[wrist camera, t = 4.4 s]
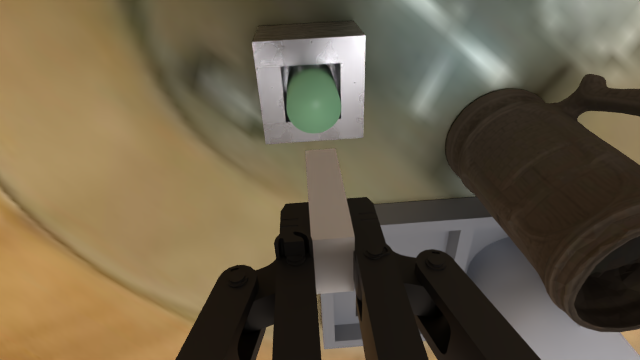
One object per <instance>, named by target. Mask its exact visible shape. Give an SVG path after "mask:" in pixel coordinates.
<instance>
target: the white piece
mask: <svg viewBox="0 0 640 360" xmlns="http://www.w3.org/2000/svg"><path fill="white" fill-rule="evenodd" d="M467 275H468V276H469V278H470V279H471V280H472V281H473V282H474V283H475V284H476V286H477V287H478V288H479V289H480V290H481V291H482V292H483V294H484V295H485V296H486V297H487V298H488V299H489V300H490V302H491V303H492V304H493V305H494V306H495V307H496V308H497V310H498V311H499V312H500V313H501V314H502V315H503V316H504V318H505V319H506V320H507V321H508V322H509V323H510V325H511V326H512V327H513V328H514V329H515V330H516V331H517V333H518V334H519V335H520V336H521V337H522V338H523V339H524V341H525V342H526V343H527V344H528V345H529V346H530V347H531V349H532V350H533V351H534V352H535V353H536V354H537V355H538V357H539V358H540V359H541V360H640V356H639V354H638V353H637V352H636V351H635V350H634V349H633V347H632V346H631V345H630V344H629V343H628V341H627V340H626V339H625V338H624V337H623V335H622V334H621V333H620V332H599V331H595V330H590V329H587V328H584V327H582V326H580V325H579V324H577V323H576V322H574V321H573V320H572V319H571V318H570V317H569V316H568V315H567V314H566V313H565V312H564V311H562V310H561V309H559V308H558V307H557V306H556V305H555V304H554V303H553V302H552V300H551V298H550V297H549V295H548V293H547V292H546V288H545V286H544V284H543V282H542V280H541V278H540V276H539V274H538V273H537V271H536V270H535V269H534V267H533V266H532V265H531V264H530V262H529V261H528V260H527V258H526V257H525V256H524V255H523V253H522V252H521V251H520V250H519V248H518V247H517V246H516V245H515V244H514V242H513V241H512V240H511V239H510V237H506V238H503V239H500V240H498V241H495V242H493V243H491V244H489V245H488V246H486V247H485V248H483V249H482V250H481V251H480V252H479V253H478V254H476V256H475V257H474V258H473V259H472V261H471V262H470V264H469V266H468V269H467Z"/></svg>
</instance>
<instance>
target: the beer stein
mask: <svg viewBox="0 0 640 360" xmlns="http://www.w3.org/2000/svg"><path fill="white" fill-rule="evenodd" d="M586 111H606V112H617V113H625V114H630V115H636V116H640V89H613V88H608V87H607V86H606V80H605V79H604V78H603V77H601V76H598V75H594V74H587V75H585V76H584V78H583V79H582V81H581V83H580V86H579V87H578V88H577V90H576V91H575V92H574V93H573V94H571V95H570V96H569V97H568V98H566V99H564V100H563V101H561V102H559V103H550V104H548V103H545V102H544V101H543V100H542V99H541V98H540V97H538V96H537V95H536V94H533V93H531V92H529V91H525V90H522V89H503V90H499V91H495V92H491V93H489V94H487V95H485V96H482V97H480V98H479V99H477V100H476V101H474V102H472V103H471V104H470V105H469V106H468V107H466V108H465V109H464V110H463V112H462V113H461V114H460V115H459V116H458V118H457V119H456V120H455V122H454V123H453V125H452V127H451V129H450V131H449V134H448V137H447V141H446V156H447V160H448V163H449V165H450V167H451V168H452V170H453V171H454V172H455V173H456V174H457V175H458V176H459V177H460V178H461V180H462V182H463V184H464V185H465V186H466V187H467V188H468V189H469V190H470V191H471V192H472V193H474V194H475V195H476V197H477V198H478V199H479V200H480V202H481V203H482V204H483V205H484V207H485V208H486V209H487V211H488V212H489V213H490V215H491V216H492V217H493V218H494V219H495V221H496V222H497V223H498V224H499V225H500V227H501V228H502V229H503V230H504V231H505V232H506V234H507V235H508V236H509V237H510V239H511V240H512V241H513V242H514V244H515V245H516V246H517V247H518V248H519V250H520V251H521V252H522V253H523V255H524V256H525V257H526V258H527V260H528V261H529V262H530V264H531V265H532V266H533V267H534V269H535V270H536V271H537V273H538V274H539V276H540V278H541V280H542V282H543V284H544V286H545V288H546V292H547V293H548V295H549V297H550V298H551V300H552V302H553V303H554V304H555V305H556V306H557V307H558V308H559V309H561V310H562V311H564V312H565V313H566V314H567V315H568V316H569V317H570V318H571V319H572V320H573V321H574V322H576V323H577V324H579V325H580V326H582V327H584V328H587V329H590V330H595V331H599V332H624V331H630V330H636V329H640V165H639V164H637V163H636V162H634V161H633V160H631V159H630V158H629V157H627V156H626V155H624V154H623V153H621V152H620V151H619V150H617V149H616V148H614V147H613V146H611V145H610V144H608V143H607V142H605V141H603V140H602V139H600V138H599V137H598V136H596V135H595V134H593V133H592V132H590V131H589V130H588V129H586V128H585V127H584V126H583V125H582V124H580V123H579V122H578V121H577V118H578V116H579V115H581V114H582V113H584V112H586Z"/></svg>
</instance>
